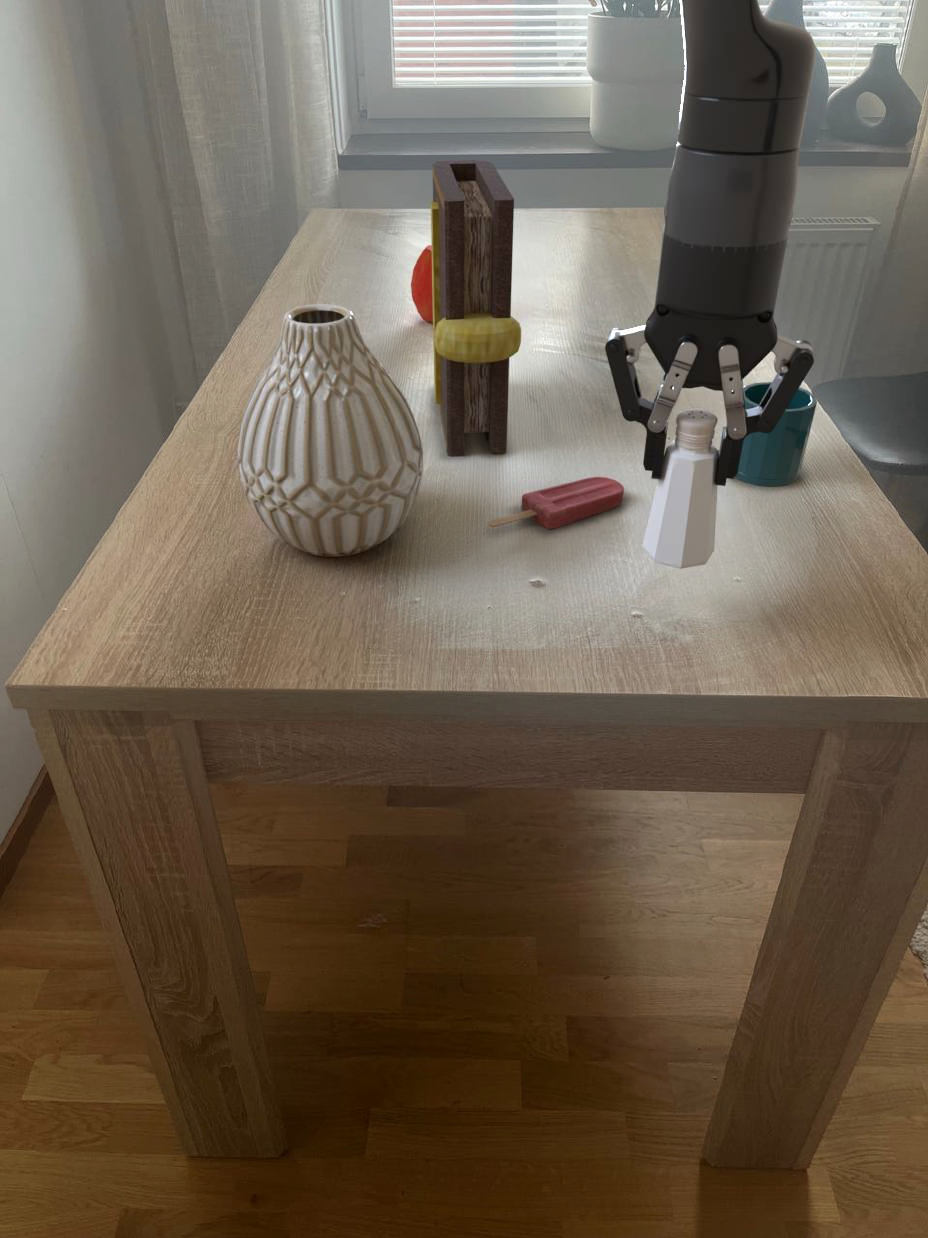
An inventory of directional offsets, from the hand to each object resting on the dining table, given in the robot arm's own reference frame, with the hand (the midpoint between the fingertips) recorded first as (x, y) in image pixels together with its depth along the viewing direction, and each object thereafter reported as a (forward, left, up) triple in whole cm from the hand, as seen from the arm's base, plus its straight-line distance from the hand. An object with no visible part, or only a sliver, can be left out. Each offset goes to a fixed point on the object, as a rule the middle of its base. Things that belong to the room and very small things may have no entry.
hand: (688, 476), depth 67 cm
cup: (+2, -29, -12) cm, 32 cm away
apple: (+56, -51, -13) cm, 77 cm away
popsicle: (+15, -10, -13) cm, 22 cm away
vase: (+30, +4, -13) cm, 33 cm away
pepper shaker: (0, 0, -6) cm, 6 cm away
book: (+33, -23, -13) cm, 42 cm away
